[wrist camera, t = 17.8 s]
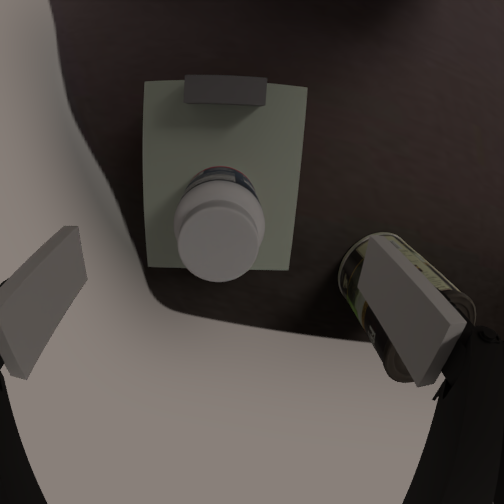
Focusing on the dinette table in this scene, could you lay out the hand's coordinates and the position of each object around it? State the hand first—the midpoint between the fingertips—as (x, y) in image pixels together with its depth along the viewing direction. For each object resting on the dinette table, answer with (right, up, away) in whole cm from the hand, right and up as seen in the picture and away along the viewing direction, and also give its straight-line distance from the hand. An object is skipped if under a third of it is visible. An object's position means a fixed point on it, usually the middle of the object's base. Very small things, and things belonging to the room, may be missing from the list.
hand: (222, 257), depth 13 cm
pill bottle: (-1, +4, +10) cm, 11 cm away
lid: (-1, +6, +10) cm, 11 cm away
